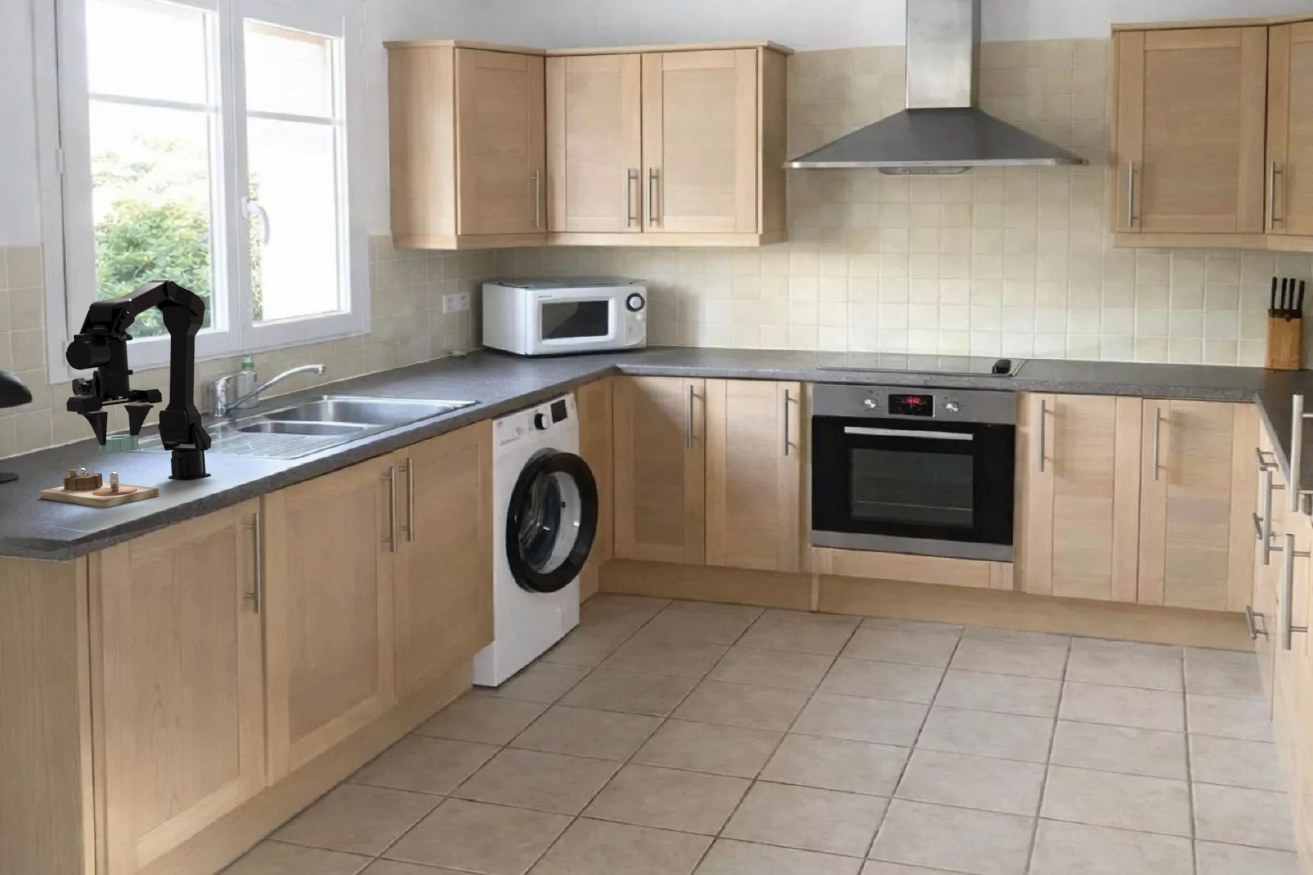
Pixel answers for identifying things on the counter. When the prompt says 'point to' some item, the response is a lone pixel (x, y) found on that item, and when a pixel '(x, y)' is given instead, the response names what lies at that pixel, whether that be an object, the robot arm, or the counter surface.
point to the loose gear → (120, 443)
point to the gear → (82, 481)
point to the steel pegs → (113, 478)
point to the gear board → (101, 494)
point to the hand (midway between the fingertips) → (118, 442)
